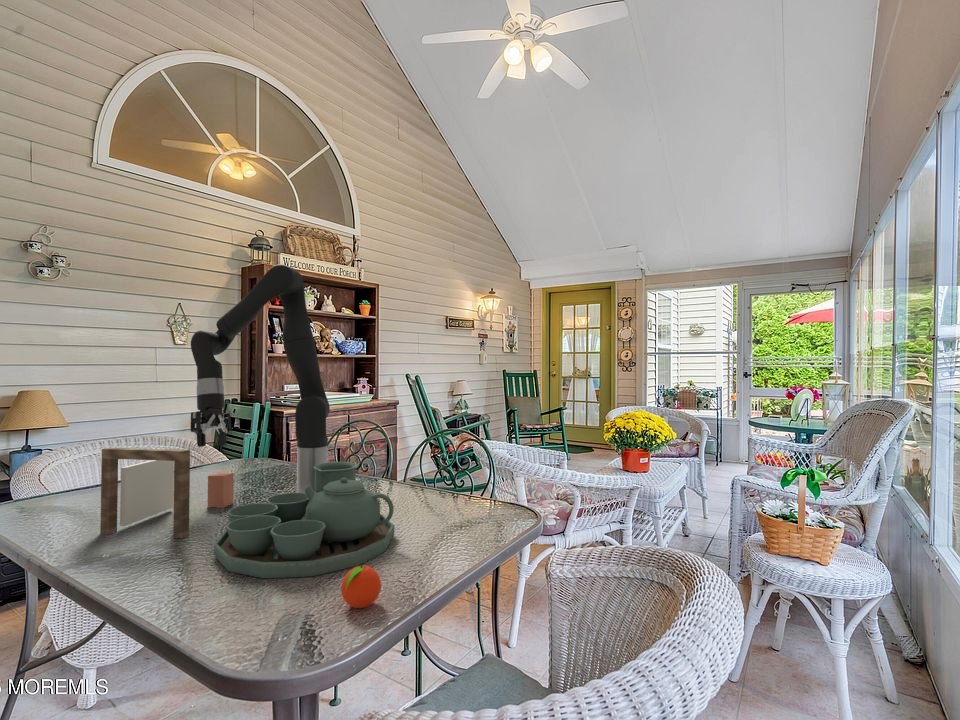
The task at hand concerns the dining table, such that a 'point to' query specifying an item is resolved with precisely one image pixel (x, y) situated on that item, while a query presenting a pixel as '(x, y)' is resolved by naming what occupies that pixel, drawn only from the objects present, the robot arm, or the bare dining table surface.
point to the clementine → (361, 586)
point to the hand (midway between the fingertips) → (212, 446)
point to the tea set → (308, 528)
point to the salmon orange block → (220, 489)
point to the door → (146, 490)
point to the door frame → (177, 455)
